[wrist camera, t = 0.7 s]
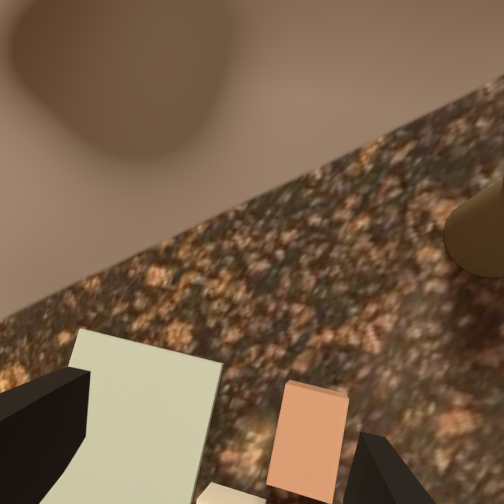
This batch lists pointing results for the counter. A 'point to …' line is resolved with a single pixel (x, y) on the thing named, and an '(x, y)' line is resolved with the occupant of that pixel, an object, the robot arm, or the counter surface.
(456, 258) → the olive pawn piece
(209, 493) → the cream brick
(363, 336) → the counter surface
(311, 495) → the terracotta brick
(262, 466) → the counter surface
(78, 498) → the baseplate
